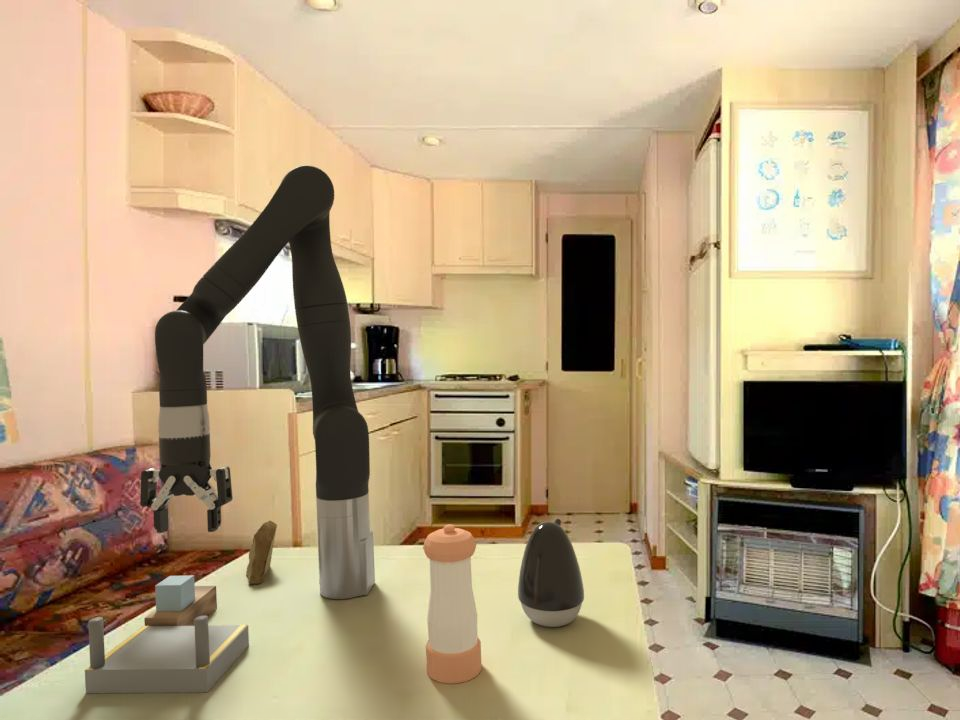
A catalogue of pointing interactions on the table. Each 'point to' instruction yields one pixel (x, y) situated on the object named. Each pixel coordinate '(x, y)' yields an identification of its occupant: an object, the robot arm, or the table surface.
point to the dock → (164, 658)
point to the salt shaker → (451, 607)
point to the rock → (261, 552)
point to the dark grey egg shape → (550, 577)
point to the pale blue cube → (175, 593)
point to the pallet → (186, 610)
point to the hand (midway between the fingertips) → (187, 531)
